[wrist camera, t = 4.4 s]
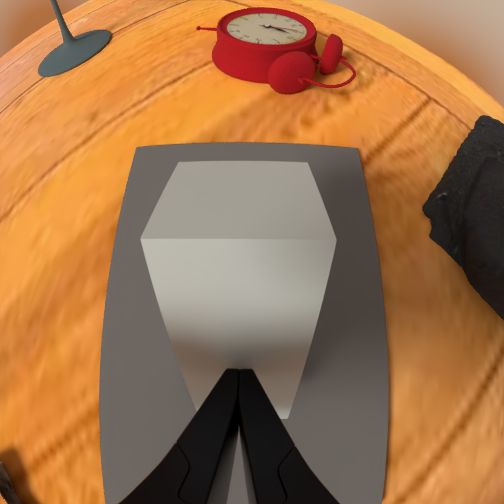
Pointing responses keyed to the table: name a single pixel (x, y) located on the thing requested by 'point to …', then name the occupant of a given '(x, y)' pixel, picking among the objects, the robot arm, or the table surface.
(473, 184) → the dark slate chunk
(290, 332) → the painted block
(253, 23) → the alarm clock
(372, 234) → the rubber mat
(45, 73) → the cocktail glass
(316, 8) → the table surface
